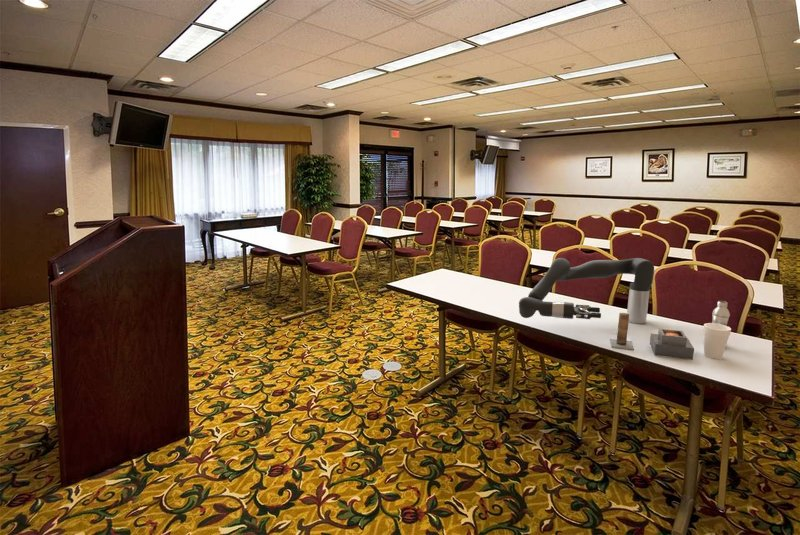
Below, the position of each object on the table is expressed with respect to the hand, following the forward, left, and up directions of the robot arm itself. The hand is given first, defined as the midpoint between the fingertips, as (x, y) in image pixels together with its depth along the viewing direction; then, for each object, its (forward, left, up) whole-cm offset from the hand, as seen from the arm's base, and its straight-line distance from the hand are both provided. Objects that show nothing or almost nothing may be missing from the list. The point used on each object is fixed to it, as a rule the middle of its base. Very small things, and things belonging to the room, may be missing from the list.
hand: (600, 312), depth 203 cm
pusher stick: (+1, +10, -13) cm, 16 cm away
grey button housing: (+2, +29, -14) cm, 32 cm away
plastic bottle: (-15, +50, -14) cm, 54 cm away
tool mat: (+1, +10, -14) cm, 17 cm away
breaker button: (+2, +29, -8) cm, 30 cm away
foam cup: (+1, +45, -14) cm, 47 cm away
